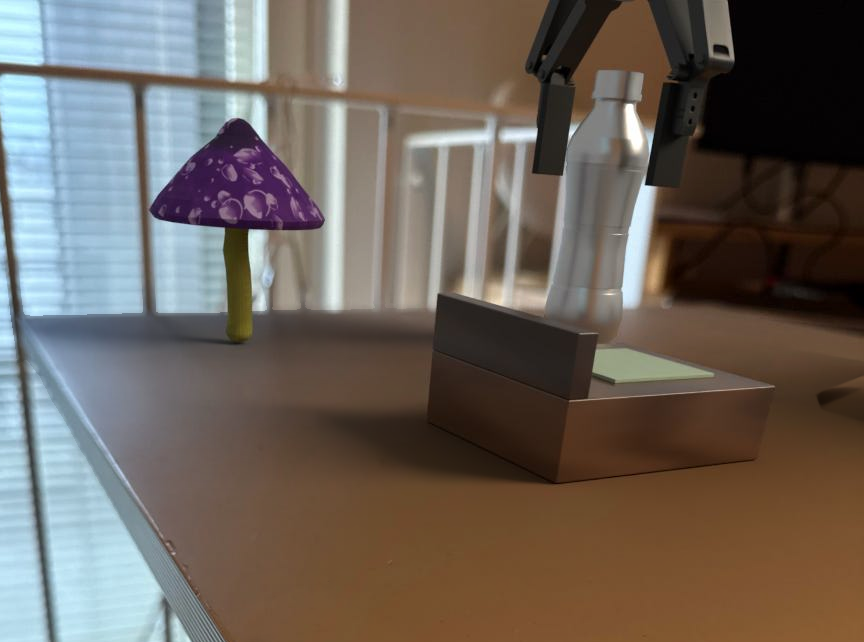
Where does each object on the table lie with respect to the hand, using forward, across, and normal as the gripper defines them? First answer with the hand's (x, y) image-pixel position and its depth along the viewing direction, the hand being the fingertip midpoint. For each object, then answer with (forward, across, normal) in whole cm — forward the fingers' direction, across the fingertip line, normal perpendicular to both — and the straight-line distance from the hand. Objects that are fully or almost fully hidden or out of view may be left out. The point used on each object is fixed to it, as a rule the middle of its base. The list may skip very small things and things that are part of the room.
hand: (600, 181), depth 75 cm
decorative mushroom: (+13, -6, -28) cm, 31 cm away
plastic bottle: (+13, 0, 0) cm, 13 cm away
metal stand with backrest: (+13, +24, -19) cm, 33 cm away
